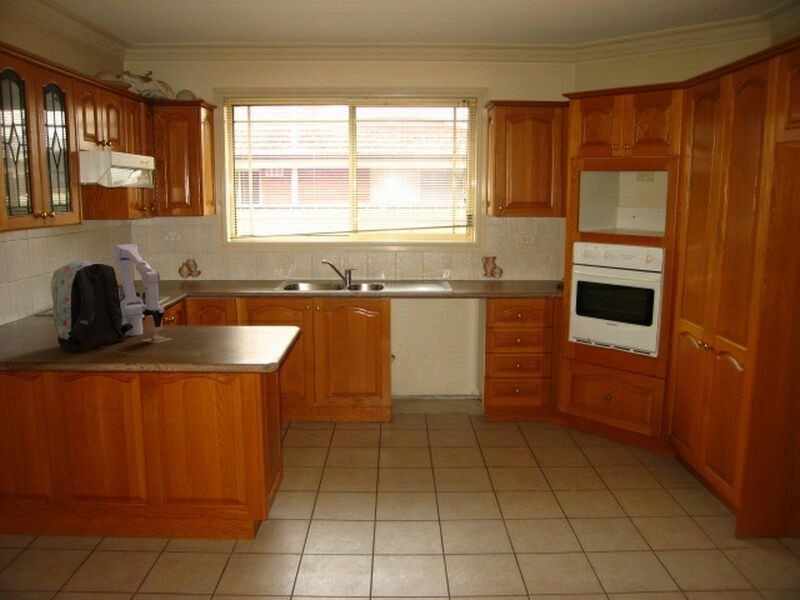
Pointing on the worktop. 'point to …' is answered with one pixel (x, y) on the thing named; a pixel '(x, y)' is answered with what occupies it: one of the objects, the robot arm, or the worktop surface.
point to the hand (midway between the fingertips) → (154, 326)
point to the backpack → (87, 306)
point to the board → (157, 340)
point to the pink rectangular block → (152, 324)
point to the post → (155, 335)
